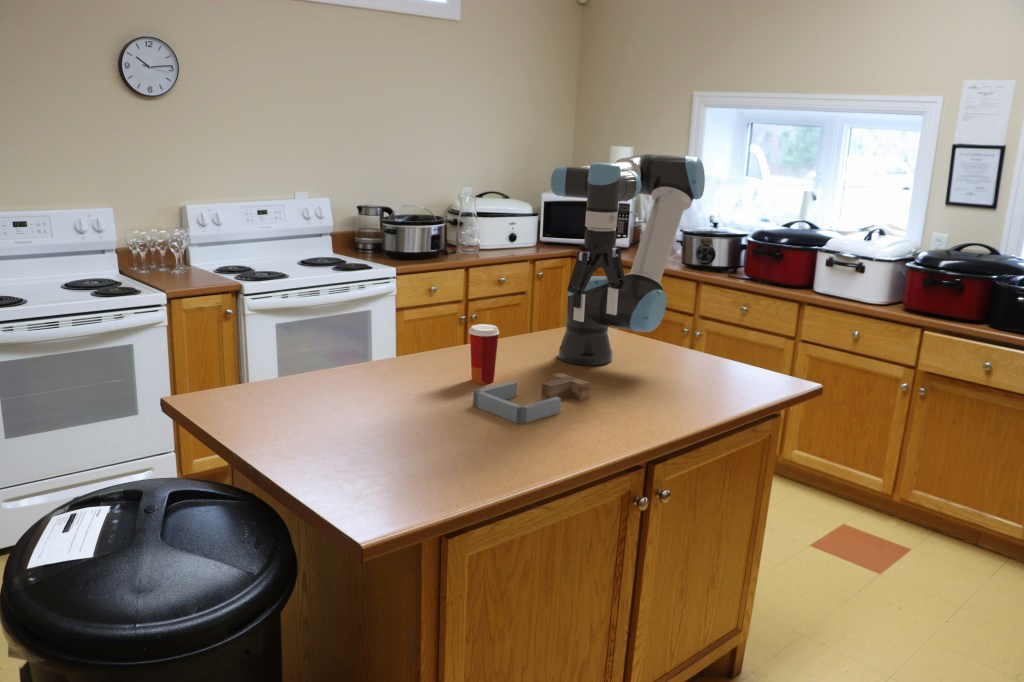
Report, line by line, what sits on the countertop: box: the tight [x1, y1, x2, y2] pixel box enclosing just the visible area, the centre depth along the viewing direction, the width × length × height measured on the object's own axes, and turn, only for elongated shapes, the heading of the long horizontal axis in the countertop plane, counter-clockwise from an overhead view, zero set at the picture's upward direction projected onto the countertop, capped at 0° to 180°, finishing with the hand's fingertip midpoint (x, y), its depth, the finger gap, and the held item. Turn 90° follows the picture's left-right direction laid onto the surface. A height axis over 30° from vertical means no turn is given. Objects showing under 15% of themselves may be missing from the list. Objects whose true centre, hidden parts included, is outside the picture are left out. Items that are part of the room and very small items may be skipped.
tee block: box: [540, 372, 591, 401], centre depth 204 cm, size 10×10×4 cm
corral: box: [472, 381, 562, 425], centre depth 194 cm, size 16×12×4 cm
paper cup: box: [467, 323, 500, 385], centre depth 213 cm, size 8×8×14 cm
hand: (595, 317), depth 207 cm, fingers open, 12 cm apart
